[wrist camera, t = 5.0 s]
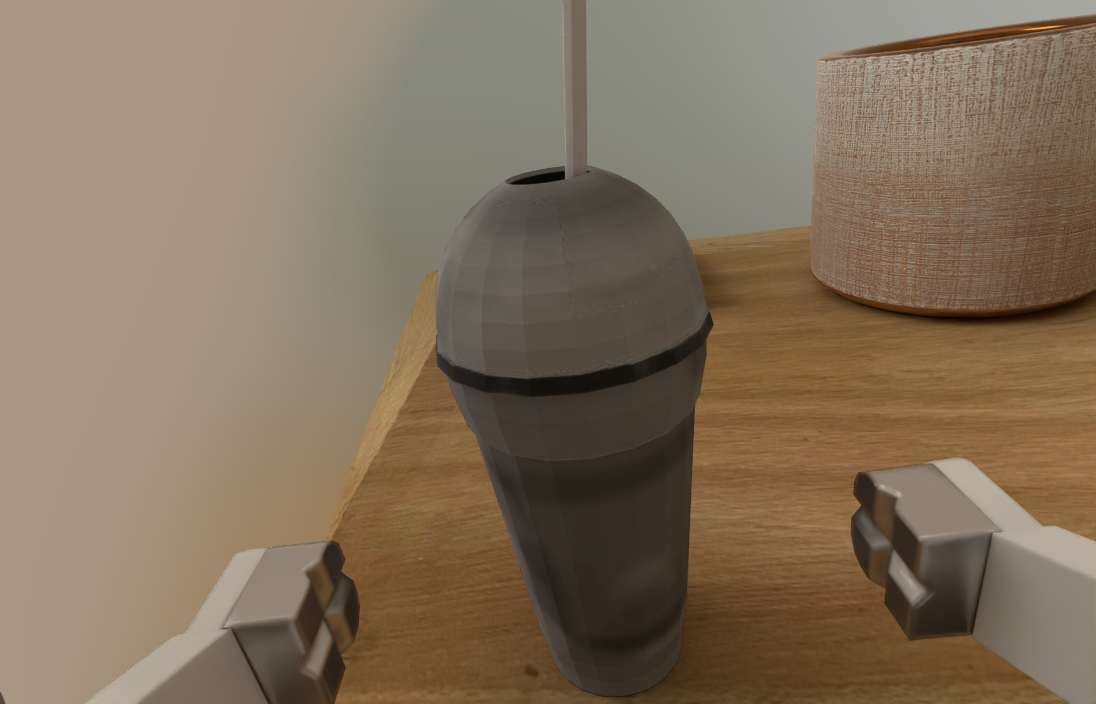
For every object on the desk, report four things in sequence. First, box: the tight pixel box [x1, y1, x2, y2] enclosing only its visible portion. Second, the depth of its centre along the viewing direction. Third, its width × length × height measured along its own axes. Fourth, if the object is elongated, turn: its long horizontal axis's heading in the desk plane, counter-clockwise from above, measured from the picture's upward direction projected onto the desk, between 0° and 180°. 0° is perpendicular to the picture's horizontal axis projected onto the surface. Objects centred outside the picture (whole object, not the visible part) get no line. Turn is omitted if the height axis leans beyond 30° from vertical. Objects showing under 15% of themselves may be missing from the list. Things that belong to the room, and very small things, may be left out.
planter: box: [810, 14, 1096, 317], centre depth 41 cm, size 18×18×16 cm
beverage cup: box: [435, 0, 714, 696], centre depth 17 cm, size 7×7×20 cm
